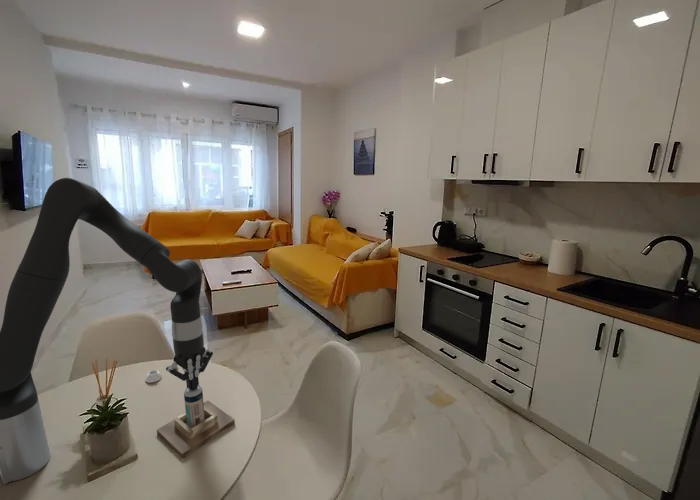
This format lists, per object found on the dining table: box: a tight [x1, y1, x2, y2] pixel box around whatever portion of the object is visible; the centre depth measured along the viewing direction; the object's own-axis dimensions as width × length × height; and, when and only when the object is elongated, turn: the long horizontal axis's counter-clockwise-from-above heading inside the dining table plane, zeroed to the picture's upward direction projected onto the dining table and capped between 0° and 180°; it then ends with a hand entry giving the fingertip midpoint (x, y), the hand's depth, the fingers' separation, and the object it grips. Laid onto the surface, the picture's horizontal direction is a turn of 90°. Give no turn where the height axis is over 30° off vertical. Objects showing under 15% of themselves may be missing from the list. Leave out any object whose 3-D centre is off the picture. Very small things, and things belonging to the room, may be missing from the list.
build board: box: [156, 400, 236, 459], centre depth 99 cm, size 16×14×4 cm
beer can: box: [183, 384, 205, 429], centre depth 98 cm, size 5×5×12 cm
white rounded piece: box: [145, 369, 162, 383], centre depth 122 cm, size 5×3×5 cm
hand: (193, 388), depth 96 cm, fingers closed
